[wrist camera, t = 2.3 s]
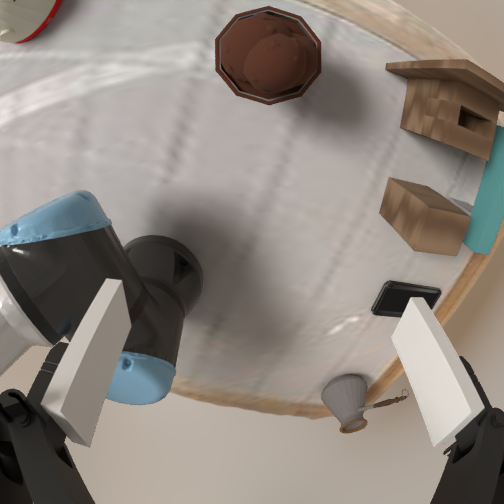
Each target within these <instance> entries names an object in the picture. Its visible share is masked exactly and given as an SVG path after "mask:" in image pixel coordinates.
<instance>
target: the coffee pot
mask: <svg viewBox="0 0 504 504" xmlns="http://www.w3.org/2000/svg"><path fill="white" fill-rule="evenodd" d="M405 390H406V389H405ZM407 392H408V391H407ZM366 393H367V383H366V382H365V381H364V380H363V379H362V378H360V377H358V376H354V375H350V374H347V375H341V376H338V377H336V378H334V379H332V380H331V381H330V382H329V383H328V385H327V386H326V387H325V388H324V390H323V392H322V396H321V399H322V401H323V403H324V404H325V405H326V406H327V407H328V408H329V410H330V411H331V412H332V413H333V414H334V415H335V417H336V418H337V419H338V420H339V421H340V422H341V427H340V432H342V433H352V432H356V431H359V430H361V429H363V428H365V427H366V425H367V420H365V419H364V418H363V411H364V410H368V409H371V408H376V407H382V406H387V405H390V404H392V403H394V402H396V403H397V402H399V401H400V400H401V401H402V400H404V399H406V398H407V397H408V396H407V397H406V396H403V390H402V396H401V397H399V398H398V397H396V398H395V399H388V400H385V401H382V402H379V403H376V404H374V405H370V406H365V399H366ZM408 395H409V393H408ZM364 406H365V407H364Z"/></svg>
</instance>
